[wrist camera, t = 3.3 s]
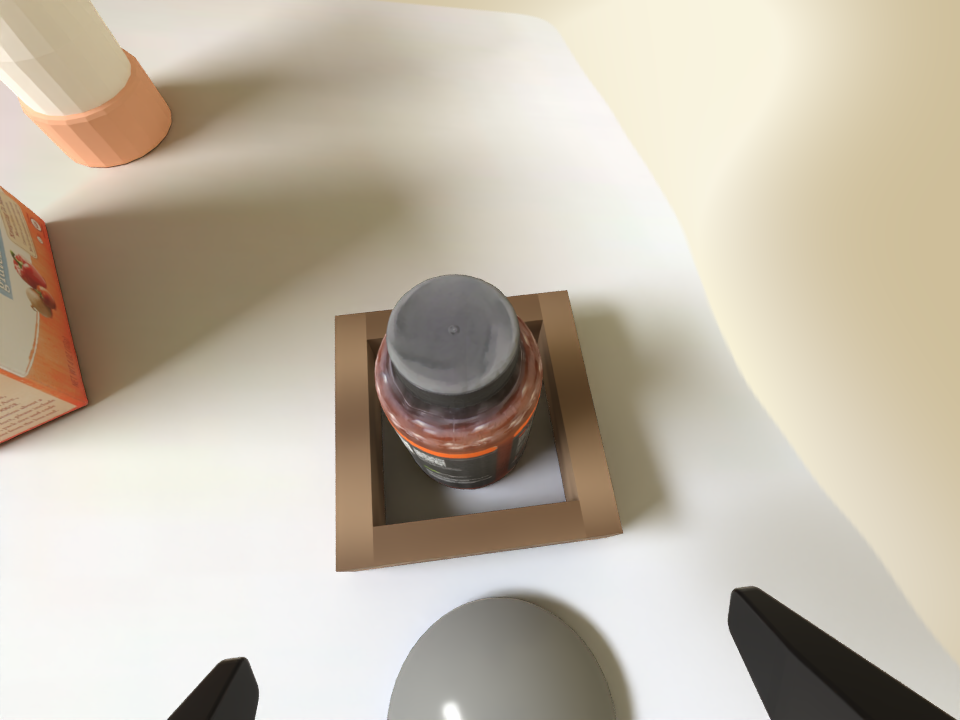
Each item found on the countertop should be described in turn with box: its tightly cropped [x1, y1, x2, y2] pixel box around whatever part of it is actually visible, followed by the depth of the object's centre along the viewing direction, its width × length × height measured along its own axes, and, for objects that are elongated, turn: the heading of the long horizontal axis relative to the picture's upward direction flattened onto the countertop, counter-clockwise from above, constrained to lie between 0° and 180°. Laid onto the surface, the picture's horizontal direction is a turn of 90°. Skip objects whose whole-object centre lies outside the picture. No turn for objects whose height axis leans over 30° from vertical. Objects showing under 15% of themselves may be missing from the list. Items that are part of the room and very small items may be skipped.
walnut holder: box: [335, 290, 623, 572], centre depth 23 cm, size 12×12×3 cm
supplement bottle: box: [375, 274, 543, 489], centre depth 19 cm, size 6×6×11 cm
